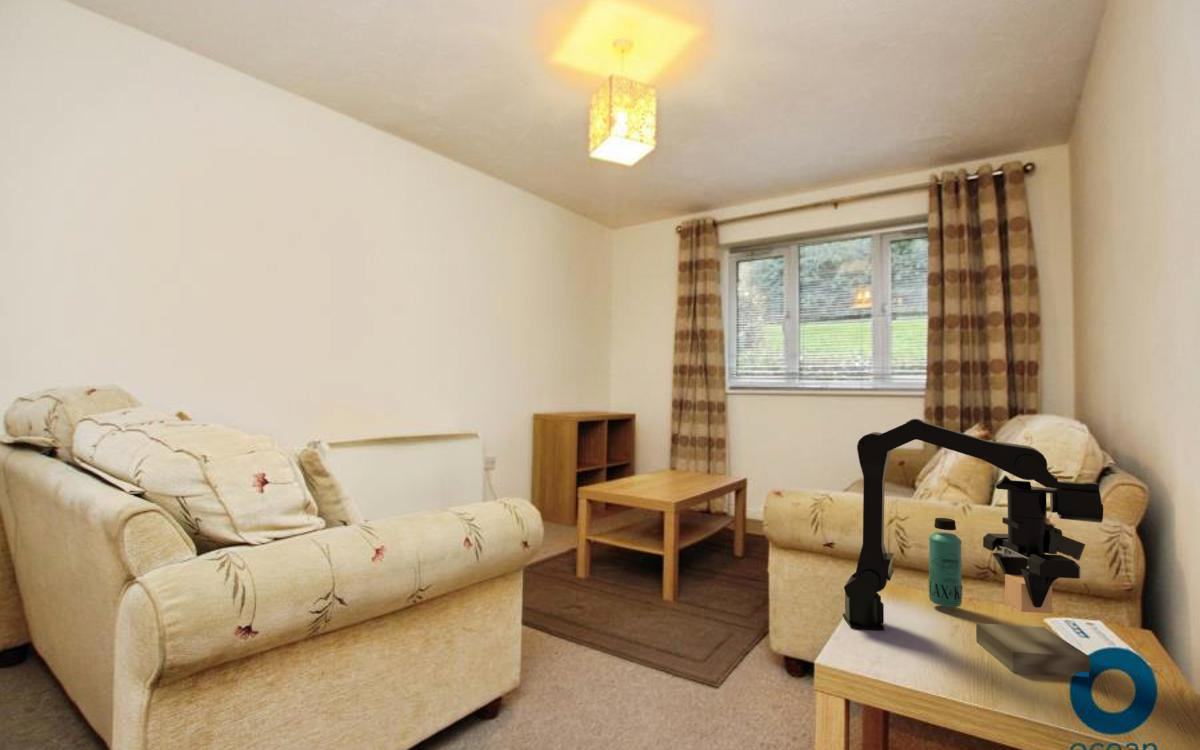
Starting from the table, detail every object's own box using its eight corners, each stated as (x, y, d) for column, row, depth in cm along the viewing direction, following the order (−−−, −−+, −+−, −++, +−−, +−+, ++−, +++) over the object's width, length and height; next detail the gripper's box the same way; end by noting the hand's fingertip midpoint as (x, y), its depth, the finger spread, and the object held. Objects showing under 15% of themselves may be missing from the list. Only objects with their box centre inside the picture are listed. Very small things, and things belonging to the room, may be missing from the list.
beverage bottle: (921, 603, 128) (920, 515, 129) (948, 602, 129) (947, 515, 130) (942, 615, 122) (941, 522, 122) (970, 613, 123) (969, 521, 123)
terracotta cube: (1021, 611, 100) (1021, 583, 100) (1005, 601, 105) (1005, 574, 105) (1052, 613, 100) (1051, 584, 100) (1034, 602, 105) (1034, 575, 105)
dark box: (1013, 675, 97) (1012, 651, 97) (976, 644, 109) (976, 623, 109) (1090, 680, 95) (1089, 656, 96) (1044, 648, 107) (1044, 627, 107)
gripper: (1115, 529, 93) (1117, 625, 92) (1042, 506, 111) (1043, 586, 111) (1041, 527, 94) (1042, 621, 94) (981, 504, 113) (982, 583, 112)
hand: (1028, 601), depth 102 cm, fingers closed on terracotta cube, 5 cm apart
